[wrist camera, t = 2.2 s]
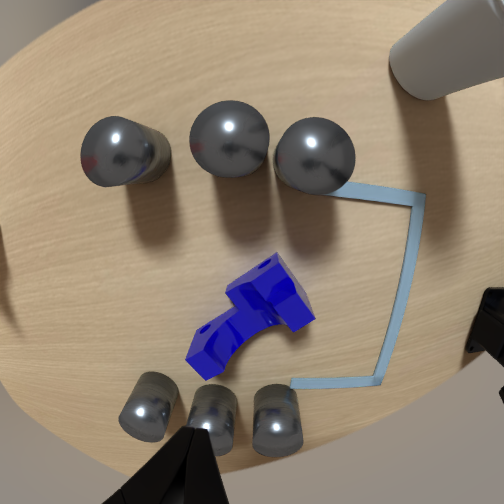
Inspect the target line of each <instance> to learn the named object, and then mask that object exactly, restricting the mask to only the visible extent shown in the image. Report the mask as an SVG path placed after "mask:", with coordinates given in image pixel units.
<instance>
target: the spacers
mask: <svg viewBox="0 0 504 504" xmlns="http://www.w3.org/2000/svg"><path fill="white" fill-rule="evenodd" d="M269 140H270V136H269V129H268V126H267V123H266V121H265V119H264V118H263V116H262V115H261V114H260V113H259V112H258V111H257V110H256V109H255V108H253V107H252V106H250V105H248V104H246V103H243V102H240V101H232V100H230V101H221V102H218V103H215V104H213V105H211V106H209V107H207V108H206V109H205V110H203V111H202V112H201V113H200V114H199V115H198V117H197V118H196V120H195V121H194V123H193V125H192V128H191V131H190V149H191V152H192V155H193V157H194V159H195V160H196V162H197V163H198V164H199V165H200V166H201V167H202V168H203V169H204V170H206V171H207V172H209V173H211V174H213V175H216V176H220V177H242V176H246V175H249V174H251V173H253V172H254V171H256V170H257V169H258V168H259V167H260V166H261V165H262V163H263V161H264V159H265V157H266V153H267V150H268V147H269ZM170 159H171V148H170V144H169V142H168V140H167V138H166V137H165V136H164V135H163V134H162V133H160V132H159V131H157V130H154V129H152V128H149V127H147V126H144V125H141V124H139V123H136V122H133V121H131V120H128V119H125V118H123V117H119V116H111V117H106V118H104V119H102V120H100V121H98V122H97V123H95V124H94V125H93V126H92V127H91V128H90V130H89V131H88V132H87V134H86V136H85V138H84V140H83V143H82V147H81V164H82V168H83V171H84V173H85V174H86V176H87V177H88V178H89V179H90V180H91V181H92V182H93V183H95V184H96V185H99V186H103V187H112V186H120V185H129V184H138V183H147V182H151V181H154V180H156V179H158V178H159V177H160V176H161V175H162V174H163V173H164V172H165V171H166V169H167V167H168V165H169V163H170ZM273 166H274V170H275V172H276V174H277V176H278V177H279V178H280V180H281V181H282V182H283V183H285V184H286V185H288V186H290V187H292V188H294V189H297V190H300V191H302V192H305V193H308V194H313V195H325V194H329V193H332V192H334V191H336V190H338V189H340V188H341V187H342V186H343V185H344V184H345V183H346V182H347V181H348V180H349V178H350V177H351V175H352V173H353V170H354V166H355V150H354V146H353V143H352V141H351V139H350V137H349V136H348V134H347V133H346V132H345V131H344V129H343V128H341V127H340V126H339V125H338V124H336V123H335V122H332V121H330V120H328V119H325V118H319V117H310V118H305V119H302V120H299V121H297V122H295V123H294V124H293V125H291V126H290V127H289V128H288V129H287V130H286V131H285V133H284V134H283V136H282V138H281V139H280V141H279V143H278V145H277V146H276V148H275V151H274V154H273ZM177 396H178V388H177V386H176V384H175V383H174V382H173V381H172V380H171V379H170V378H169V377H167V376H166V375H164V374H161V373H158V372H146V373H144V374H142V375H141V376H140V378H139V380H138V382H137V384H136V385H135V387H134V389H133V391H132V393H131V395H130V397H129V398H128V400H127V402H126V404H125V406H124V408H123V410H122V412H121V414H120V415H119V424H120V426H121V427H122V428H123V429H124V431H126V432H127V433H128V434H129V435H131V436H132V437H134V438H136V439H138V440H141V441H144V442H158V441H161V440H162V439H163V437H164V434H165V431H166V428H167V425H168V422H169V419H170V416H171V413H172V410H173V408H174V405H175V402H176V399H177ZM236 406H237V398H236V396H235V394H234V393H233V392H232V391H231V390H230V389H228V388H226V387H224V386H221V385H216V384H209V385H204V386H202V387H200V388H199V389H198V390H197V391H196V392H195V395H194V399H193V403H192V406H191V410H190V413H189V417H188V421H187V424H186V426H190V427H194V428H195V429H196V428H205V429H208V431H209V435H210V439H211V443H212V446H213V450H214V454H215V456H221V455H225V454H227V453H228V452H230V451H231V449H232V445H233V435H234V425H235V416H236ZM252 445H253V448H254V450H255V451H256V452H258V453H259V454H261V455H264V456H268V457H283V456H288V455H291V454H293V453H295V452H297V451H298V450H299V449H300V448H301V447H302V445H303V434H302V427H301V420H300V413H299V406H298V399H297V394H296V392H295V391H294V390H293V389H290V387H289V386H286V385H282V384H272V385H268V386H265V387H263V388H261V389H260V390H258V391H257V393H256V394H255V396H254V414H253V443H252Z"/></svg>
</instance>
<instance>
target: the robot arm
mask: <svg viewBox="0 0 504 504" xmlns="http://www.w3.org/2000/svg"><path fill="white" fill-rule="evenodd" d="M484 350H486V351H487V352H488V353H489V354H490V355H491V356H492V357H493V358H494V359H496V360H497V361H498V362H499V363H500V364H501V365H502V366H503V367H504V287H489V288H487V289H486V291H485V293H484V297H483V300H482V303H481V307H480V310H479V313H478V316H477V319H476V322H475V325H474V328H473V330H472V333H471V336H470V338H469V341H468V344H467V346H466V351H467V352H468V353H473V352H479V351H484ZM499 395H500V397H501V399H502V401H503V403H504V386H503V387H502V388H501V390H500V391H499ZM102 504H229V502H228V498H227V495H226V492H225V489H224V486H223V482H222V479H221V475H220V472H219V468H218V465H217V461H216V458H215V454H214V450H213V446H212V443H211V439H210V435H209V431H208V429H205V428H196V429H195V428H194V427H190V426H182V427H181V428H180V429H179V430H178V431H177V432H176V433H175V434H174V435H173V436H172V437H171V438H170V439H169V440H168V441H167V442H166V443H165V445H164V446H163V447H162V448H161V449H160V450H159V451H158V452H157V453H156V454H155V455H154V456H153V457H152V458H151V459H150V460H149V461H148V462H147V463H146V464H145V465H144V466H143V467H141V468H140V469H139V470H138V471H137V472H136V473H135V474H134V475H133V476H132V477H131V478H130V479H129V480H128V481H127V482H126V483H125V484H124V485H123V486H122V487H121V489H118V490H117V491H116V492H115V493H114V494H113V495H112V496H110V497H109V498H108V499H107V500H106V501H104V502H103V503H102Z"/></svg>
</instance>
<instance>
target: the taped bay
mask: <svg viewBox="0 0 504 504" xmlns="http://www.w3.org/2000/svg"><path fill="white" fill-rule="evenodd" d="M325 195H329V196H338V197H347V198H356V199H364V200H372V201H380V202H387V203H394V204H401V205H408V206H412V208H411V216H410V224H409V231H408V237H407V244H406V249H405V255H404V261H403V266H402V271H401V276H400V281H399V285H398V290H397V294H396V298H395V302H394V306H393V310H392V314H391V318H390V322H389V326H388V329H387V333H386V336H385V340H384V343H383V346H382V350H381V353H380V356H379V359H378V362H377V365H376V368H375V371H374V374H373V376H363V377H342V378H291V384H290V389H323V388H349V387H365V386H377V385H381V383H382V380H383V377H384V375H385V372H386V369H387V366H388V364H389V361H390V358H391V355H392V352H393V349H394V346H395V342H396V339H397V336H398V333H399V329H400V326H401V322H402V319H403V315H404V312H405V308H406V304H407V300H408V296H409V292H410V288H411V283H412V279H413V274H414V269H415V264H416V259H417V254H418V249H419V243H420V237H421V230H422V223H423V216H424V208H425V199H426V194H424V193H418V192H413V191H407V190H401V189H395V188H389V187H382V186H376V185H369V184H361V183H354V182H346V183H345V184H344V185H343V186H342V187H341V188H340V189H338V190H336V191H334V192H332V193H329V194H325Z"/></svg>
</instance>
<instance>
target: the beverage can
mask: <svg viewBox="0 0 504 504" xmlns="http://www.w3.org/2000/svg"><path fill="white" fill-rule="evenodd" d="M389 60H390V66H391V68H392V71H393V74H394V76H395V77H396V79H397V81H398V82H399V84H400V85H401V86H402V87H403V89H404V90H406V91H407V92H408V93H409V94H410V95H412V96H414V97H416V98H418V99H422V100H434V99H437V98H439V97H442V96H445V95H448V94H451V93H454V92H457V91H460V90H463V89H466V88H469V87H472V86H475V85H478V84H482V83H485V82H488V81H491V80H495V79H498V78H502V77H504V0H447V1H445V2H444V3H443V4H442V5H440V6H439V7H438V8H437V9H435V10H434V11H433V12H432V13H430V14H429V15H428V16H427V17H426V18H424V19H423V20H422V21H421V22H420V23H418V24H417V25H416V26H415V27H414V28H413V29H411V30H410V31H409V32H408V33H407V34H406V35H404V36H403V37H402V38H401V39H400V40H399V41H397V42H396V43H395V44H394V45H393V46H392V48H391V50H390V55H389Z"/></svg>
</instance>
